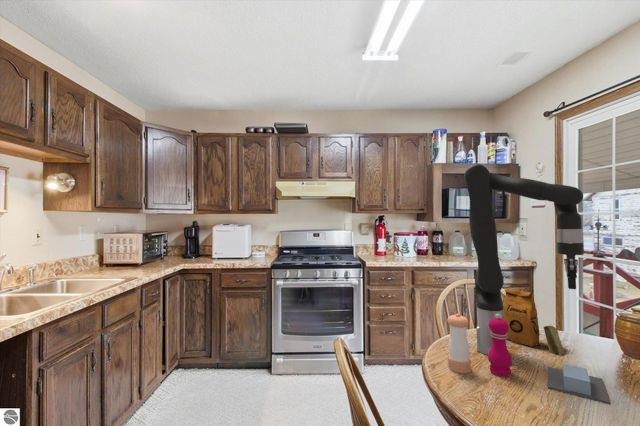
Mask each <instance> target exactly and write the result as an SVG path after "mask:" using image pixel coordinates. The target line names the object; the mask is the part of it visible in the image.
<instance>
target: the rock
mask: <svg viewBox="0 0 640 426" xmlns="http://www.w3.org/2000/svg"><path fill="white" fill-rule="evenodd" d="M543 331H544V335H545V338H546V340H547V347H548V351H549V352H550V353H551V354H554V355H555V356H559V357H562V356H563V354H564V353H565V352H564V348H563V345H562V342H561V341H562V340H561V338H560V337H559V336H560V335H559V331H558V328H556V327H555V326H553V325H545V326H543Z"/></svg>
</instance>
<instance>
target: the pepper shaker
mask: <svg viewBox="0 0 640 426" xmlns="http://www.w3.org/2000/svg"><path fill="white" fill-rule="evenodd" d="M446 321H447V322H446V323H447V324H448V326H449V341H448V357H447V365H448V368H449V370H451V371H453V372H455V373H460V374H469V373H470V372H471V370H472V368H471V359H470V348H469V342H468V337H467V336H468V335H467V334H468V332H467V331H468V329H467V327H468V326H469V324H470V323H469V322H470V321H469V320H468V319H467V317H465V316H463V315H460V313H455V314H451V315H449V316H448V318H447V320H446Z"/></svg>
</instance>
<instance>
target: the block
mask: <svg viewBox="0 0 640 426" xmlns="http://www.w3.org/2000/svg"><path fill="white" fill-rule="evenodd" d="M562 370H563V379H564V389H565V390H569V391H573V392H577V393H581V394H585V395H589V396H591V385H590V379H589V376H590V375H589V373H588V369H587V368H586V367H580V366H576V365H572V364H566V363H562Z"/></svg>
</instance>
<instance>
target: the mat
mask: <svg viewBox="0 0 640 426" xmlns="http://www.w3.org/2000/svg"><path fill="white" fill-rule="evenodd" d="M589 379H590V385H591V396H589V395H585V394H581V393H577V392H573V391H569V390H565V389H564V379H563V369H561V368H556V367H552V366H547V389H549V390H553V391H557V392H561V393H564V394H568V395H572V396H576V397H579V398H580V397H581V398H584V399H587V400H592V401H597V402H598V403H604V404H608V405H610V404H611V401H610V398H609V395H608V393H607V392H608V391H607V389H606V386H605V383H604V379H603V378H601V377H599V376H598V377H597V376H593V375H589Z"/></svg>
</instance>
